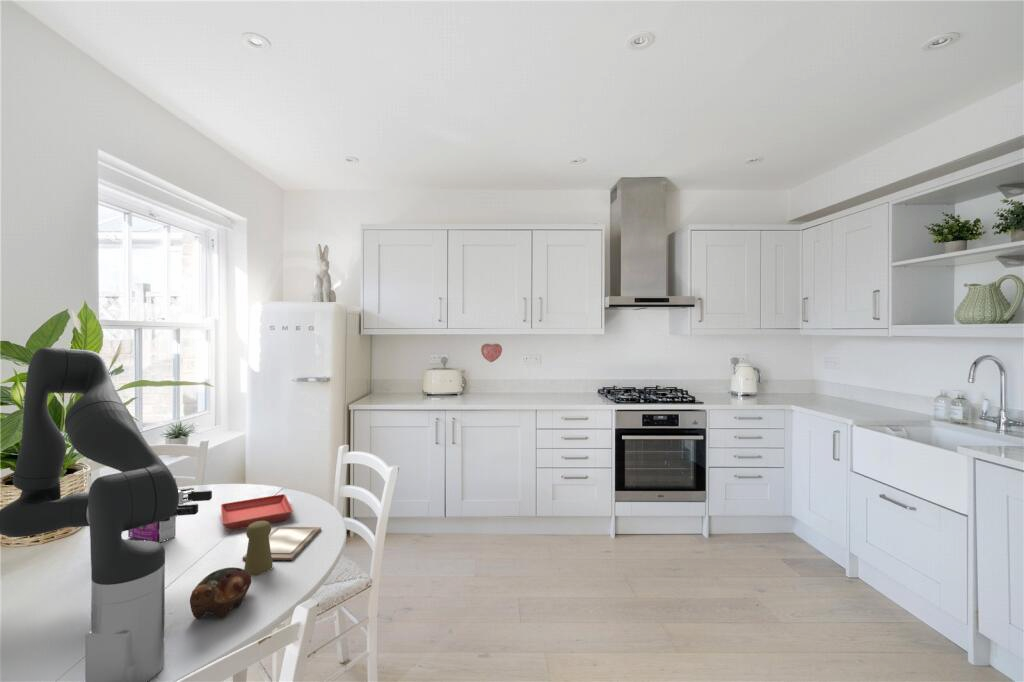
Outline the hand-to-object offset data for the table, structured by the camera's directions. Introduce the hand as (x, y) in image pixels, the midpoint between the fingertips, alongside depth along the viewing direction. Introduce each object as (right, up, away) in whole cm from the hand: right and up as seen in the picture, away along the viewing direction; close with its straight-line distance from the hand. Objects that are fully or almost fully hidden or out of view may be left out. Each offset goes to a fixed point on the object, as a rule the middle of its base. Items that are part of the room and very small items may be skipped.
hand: (204, 501), depth 106 cm
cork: (+11, -17, +3) cm, 20 cm away
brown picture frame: (+10, -17, +16) cm, 26 cm away
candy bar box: (-27, -16, +19) cm, 36 cm away
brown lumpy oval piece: (+12, -18, -13) cm, 25 cm away
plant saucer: (-7, -17, +34) cm, 39 cm away
